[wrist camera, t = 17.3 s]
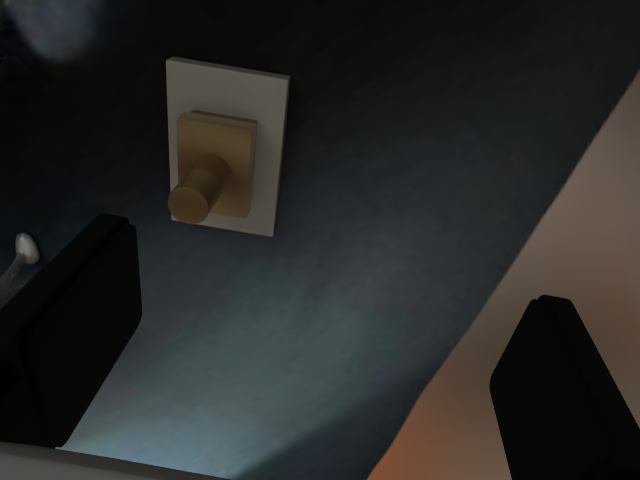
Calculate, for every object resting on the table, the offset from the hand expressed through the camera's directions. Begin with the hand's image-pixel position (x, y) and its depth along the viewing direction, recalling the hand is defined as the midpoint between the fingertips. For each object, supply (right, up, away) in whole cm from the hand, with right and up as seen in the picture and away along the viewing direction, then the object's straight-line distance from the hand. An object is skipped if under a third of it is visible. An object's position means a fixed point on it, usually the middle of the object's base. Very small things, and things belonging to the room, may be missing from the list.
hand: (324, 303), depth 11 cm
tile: (-7, +8, +23) cm, 25 cm away
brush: (-7, +7, +22) cm, 24 cm away
